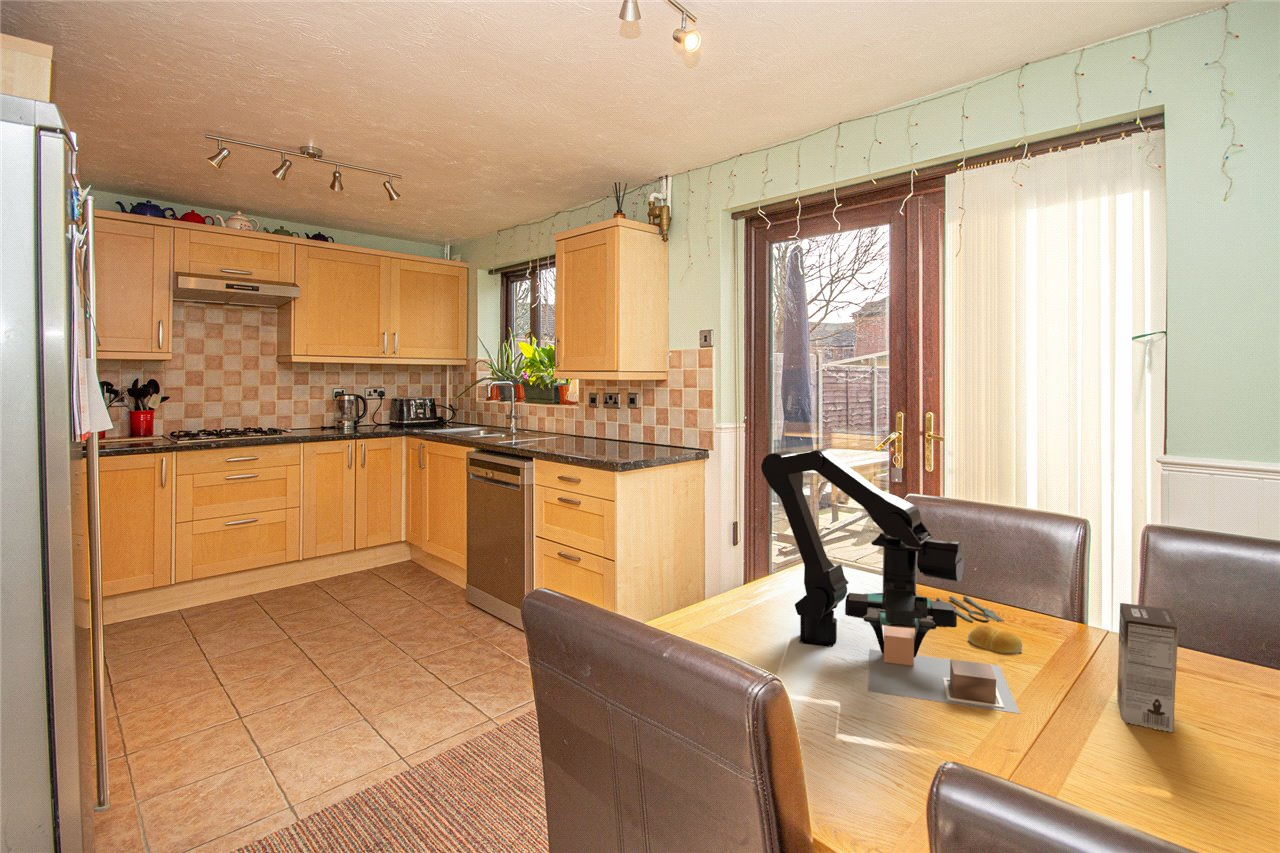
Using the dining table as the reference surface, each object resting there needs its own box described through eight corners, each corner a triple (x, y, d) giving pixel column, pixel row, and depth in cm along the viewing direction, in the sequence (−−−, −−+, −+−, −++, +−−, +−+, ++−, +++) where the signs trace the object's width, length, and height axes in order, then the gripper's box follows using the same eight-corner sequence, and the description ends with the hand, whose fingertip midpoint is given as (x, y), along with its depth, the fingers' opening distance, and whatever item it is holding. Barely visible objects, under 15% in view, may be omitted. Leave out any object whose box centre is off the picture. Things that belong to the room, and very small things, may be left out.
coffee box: (1115, 697, 104) (1118, 601, 103) (1165, 707, 101) (1169, 608, 100) (1121, 723, 97) (1125, 618, 96) (1176, 734, 93) (1180, 626, 92)
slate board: (868, 694, 106) (868, 689, 106) (869, 652, 123) (869, 648, 123) (1019, 717, 98) (1019, 712, 98) (999, 668, 115) (999, 664, 115)
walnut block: (953, 698, 103) (954, 673, 103) (949, 682, 109) (950, 659, 109) (995, 704, 101) (996, 679, 101) (989, 687, 107) (990, 664, 107)
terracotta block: (883, 662, 117) (884, 635, 117) (883, 651, 122) (884, 625, 121) (913, 665, 115) (914, 638, 115) (912, 655, 120) (912, 628, 120)
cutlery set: (841, 600, 153) (842, 591, 153) (964, 599, 155) (964, 590, 155) (876, 633, 134) (876, 622, 133) (1015, 631, 135) (1016, 621, 135)
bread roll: (1013, 661, 119) (1013, 640, 119) (963, 646, 126) (963, 626, 126) (1029, 648, 125) (1029, 628, 124) (980, 635, 131) (981, 616, 131)
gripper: (844, 579, 113) (843, 665, 114) (961, 589, 107) (959, 681, 108) (847, 563, 124) (846, 642, 125) (954, 571, 117) (952, 655, 118)
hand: (898, 654), depth 118 cm, fingers closed on terracotta block, 5 cm apart
